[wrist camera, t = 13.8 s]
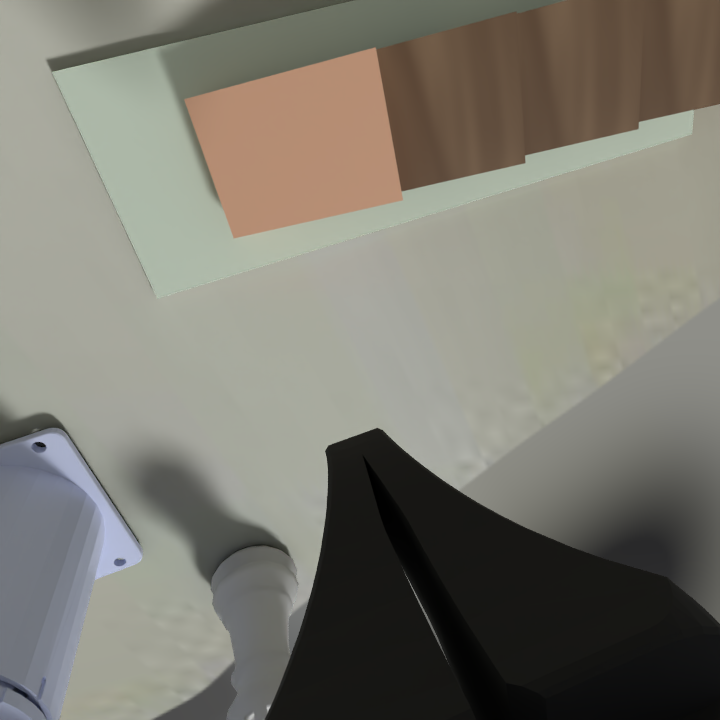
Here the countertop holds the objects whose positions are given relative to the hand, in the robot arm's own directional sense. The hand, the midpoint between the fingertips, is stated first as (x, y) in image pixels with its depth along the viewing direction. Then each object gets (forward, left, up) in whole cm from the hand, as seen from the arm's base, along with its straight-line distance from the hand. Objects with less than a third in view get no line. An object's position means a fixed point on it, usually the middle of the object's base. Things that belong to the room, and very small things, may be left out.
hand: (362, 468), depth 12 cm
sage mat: (+7, +6, -10) cm, 14 cm away
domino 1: (+4, +6, -9) cm, 12 cm away
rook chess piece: (-6, -13, -11) cm, 18 cm away
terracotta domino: (-1, +6, -9) cm, 11 cm away
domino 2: (+8, +6, -9) cm, 14 cm away
